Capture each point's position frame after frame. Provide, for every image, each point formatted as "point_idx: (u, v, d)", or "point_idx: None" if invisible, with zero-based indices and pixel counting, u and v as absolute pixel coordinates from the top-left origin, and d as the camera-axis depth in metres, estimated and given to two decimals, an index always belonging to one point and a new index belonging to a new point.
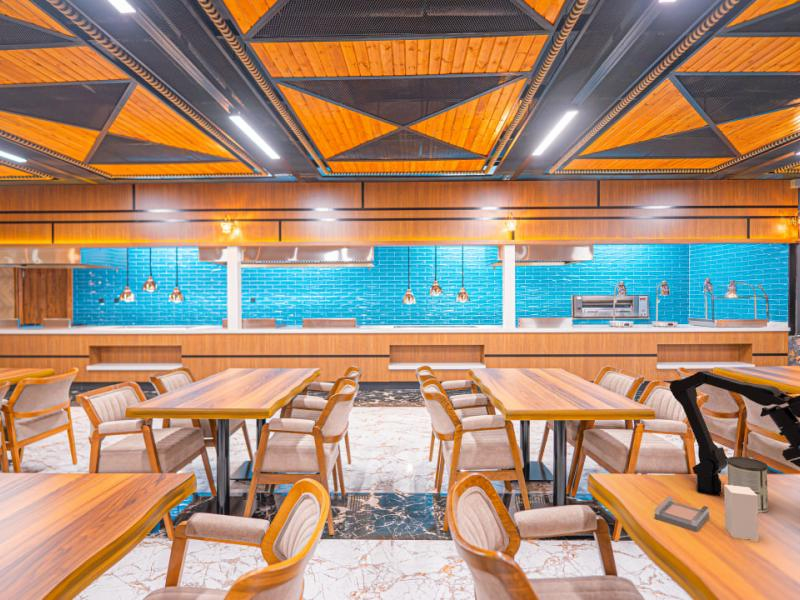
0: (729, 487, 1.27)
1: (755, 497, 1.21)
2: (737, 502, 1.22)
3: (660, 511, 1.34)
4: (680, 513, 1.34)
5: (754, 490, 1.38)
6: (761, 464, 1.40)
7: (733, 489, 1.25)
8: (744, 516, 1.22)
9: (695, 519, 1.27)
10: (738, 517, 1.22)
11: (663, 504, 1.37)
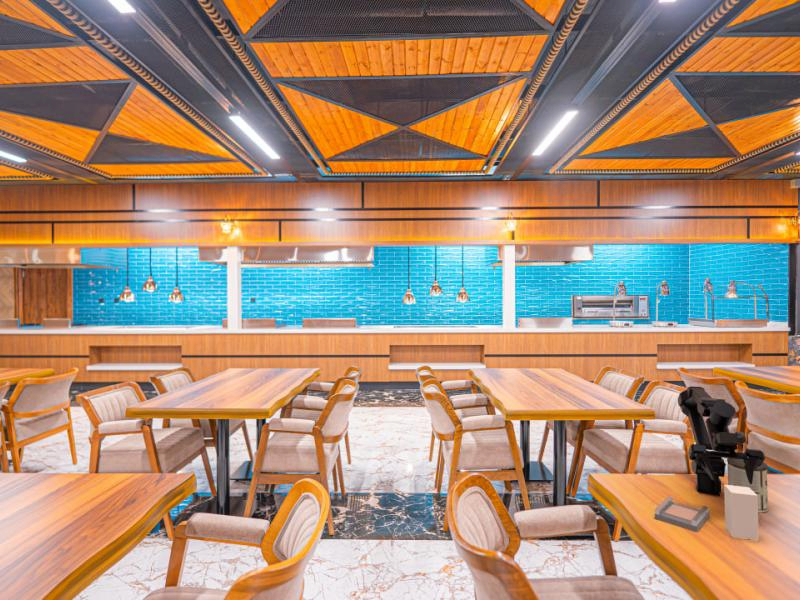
0: (729, 487, 1.27)
1: (755, 497, 1.21)
2: (737, 502, 1.22)
3: (660, 511, 1.34)
4: (680, 513, 1.34)
5: (754, 490, 1.38)
6: None
7: (733, 489, 1.25)
8: (743, 516, 1.22)
9: (695, 519, 1.27)
10: (738, 517, 1.22)
11: (663, 504, 1.37)
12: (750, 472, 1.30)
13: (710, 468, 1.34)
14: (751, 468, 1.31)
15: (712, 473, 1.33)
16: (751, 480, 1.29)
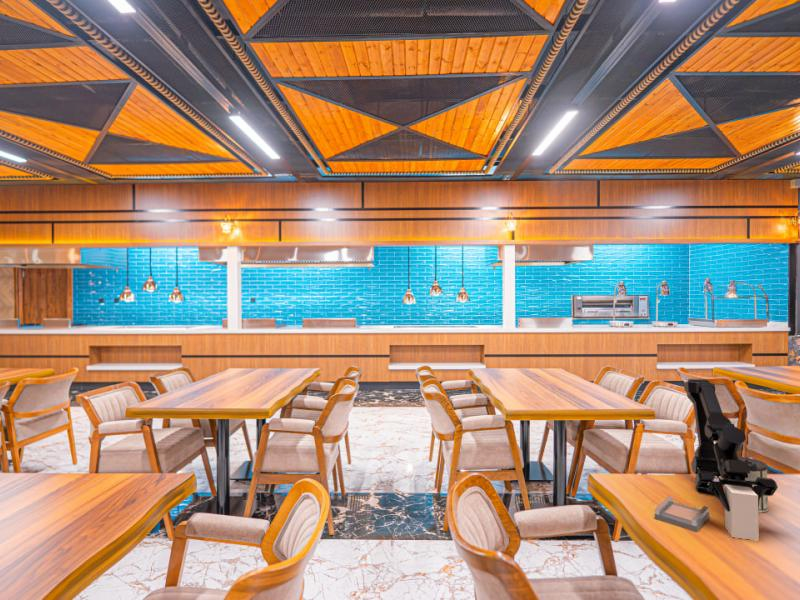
0: (730, 487, 1.26)
1: (755, 497, 1.21)
2: (737, 502, 1.22)
3: (660, 511, 1.34)
4: (680, 513, 1.34)
5: None
6: (761, 464, 1.40)
7: (733, 489, 1.25)
8: (744, 516, 1.22)
9: (695, 519, 1.27)
10: (738, 517, 1.22)
11: (663, 504, 1.37)
12: None
13: (724, 498, 1.26)
14: None
15: (727, 504, 1.25)
16: None
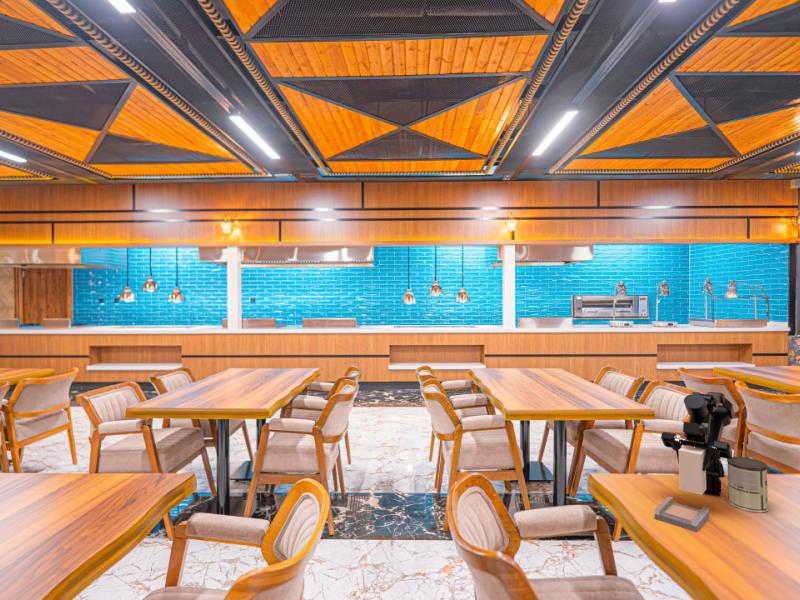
0: (685, 447, 1.43)
1: (699, 455, 1.36)
2: (683, 459, 1.39)
3: (660, 511, 1.34)
4: (680, 513, 1.34)
5: (754, 490, 1.38)
6: (761, 464, 1.40)
7: (685, 448, 1.41)
8: (689, 471, 1.38)
9: (695, 519, 1.27)
10: (684, 472, 1.39)
11: (663, 504, 1.37)
12: (705, 460, 1.37)
13: (678, 455, 1.43)
14: (707, 457, 1.38)
15: None
16: (703, 467, 1.37)
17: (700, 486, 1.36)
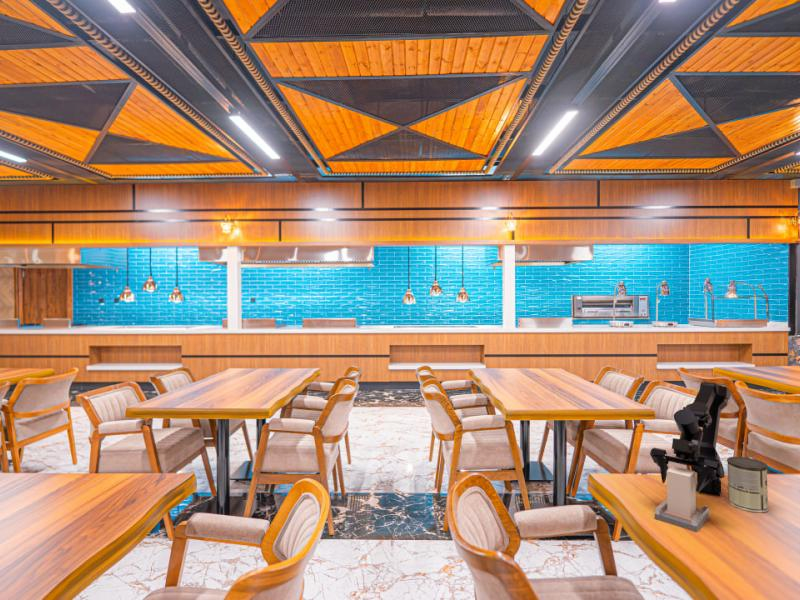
0: (674, 468, 1.37)
1: (687, 477, 1.31)
2: (671, 480, 1.34)
3: (660, 511, 1.34)
4: None
5: (754, 490, 1.38)
6: (761, 464, 1.40)
7: (674, 469, 1.36)
8: (677, 494, 1.32)
9: (695, 519, 1.27)
10: (672, 494, 1.33)
11: (663, 504, 1.37)
12: (700, 480, 1.31)
13: (662, 471, 1.38)
14: (702, 477, 1.31)
15: (662, 476, 1.37)
16: (698, 488, 1.30)
17: (688, 509, 1.30)
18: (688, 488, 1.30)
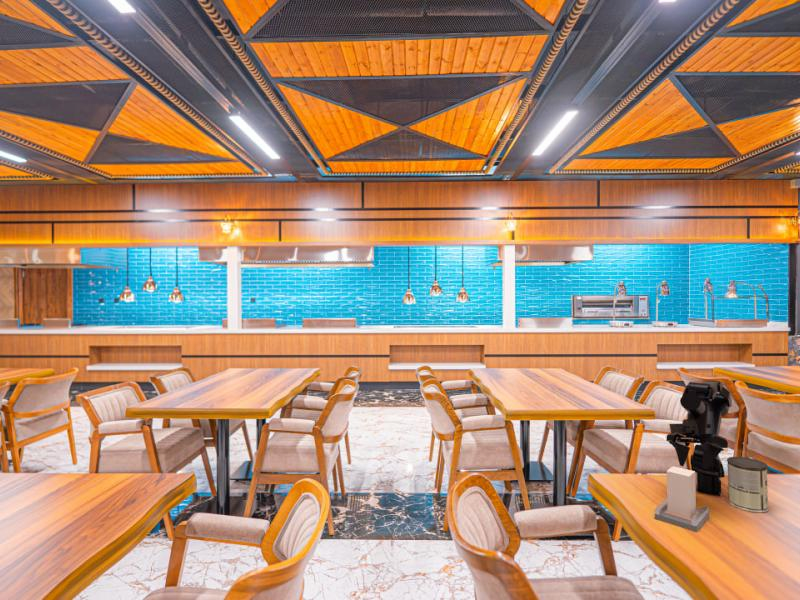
0: (674, 468, 1.37)
1: (687, 477, 1.31)
2: (671, 480, 1.34)
3: (660, 511, 1.34)
4: None
5: (754, 490, 1.38)
6: (761, 464, 1.40)
7: (674, 469, 1.36)
8: (677, 494, 1.32)
9: (695, 519, 1.27)
10: (672, 494, 1.33)
11: (663, 504, 1.37)
12: (704, 457, 1.37)
13: (678, 455, 1.46)
14: (705, 453, 1.37)
15: (679, 460, 1.46)
16: (703, 465, 1.36)
17: (688, 509, 1.30)
18: (688, 488, 1.30)
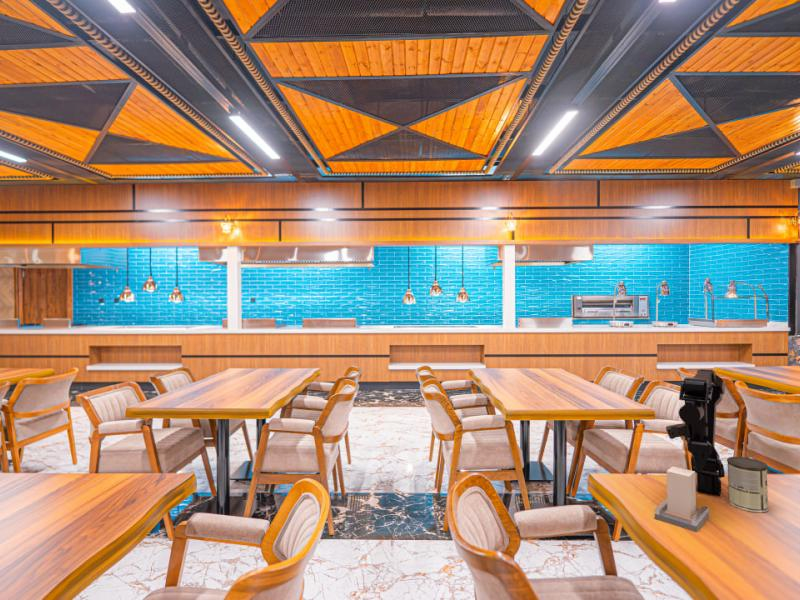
0: (674, 468, 1.37)
1: (687, 477, 1.31)
2: (671, 480, 1.34)
3: (660, 511, 1.34)
4: None
5: (754, 490, 1.38)
6: (761, 464, 1.40)
7: (674, 469, 1.36)
8: (677, 494, 1.32)
9: (695, 519, 1.27)
10: (672, 494, 1.33)
11: (663, 504, 1.37)
12: (694, 461, 1.38)
13: None
14: (693, 457, 1.38)
15: (693, 456, 1.46)
16: (696, 468, 1.38)
17: (688, 509, 1.30)
18: (688, 488, 1.30)
